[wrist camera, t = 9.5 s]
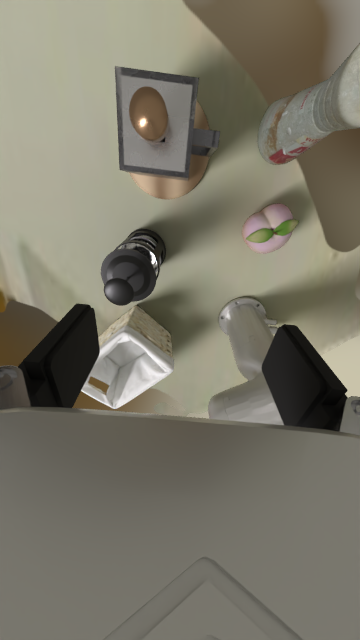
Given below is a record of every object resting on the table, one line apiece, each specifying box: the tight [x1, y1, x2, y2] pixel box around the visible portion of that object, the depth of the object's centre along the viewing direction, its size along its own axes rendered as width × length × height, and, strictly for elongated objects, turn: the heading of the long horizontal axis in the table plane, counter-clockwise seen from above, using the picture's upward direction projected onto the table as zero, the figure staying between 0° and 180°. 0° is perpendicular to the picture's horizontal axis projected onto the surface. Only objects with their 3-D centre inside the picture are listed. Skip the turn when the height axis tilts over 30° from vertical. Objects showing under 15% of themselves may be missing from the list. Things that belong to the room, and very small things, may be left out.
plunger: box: [129, 86, 169, 144], centre depth 28 cm, size 6×6×19 cm
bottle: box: [258, 43, 360, 165], centre depth 25 cm, size 9×9×28 cm
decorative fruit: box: [242, 203, 299, 253], centre depth 40 cm, size 9×8×10 cm
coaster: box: [129, 100, 209, 199], centre depth 38 cm, size 16×16×1 cm
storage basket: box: [81, 306, 174, 409], centre depth 56 cm, size 24×16×15 cm
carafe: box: [115, 66, 220, 181], centre depth 31 cm, size 12×9×15 cm
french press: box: [101, 229, 166, 305], centre depth 38 cm, size 12×9×23 cm
